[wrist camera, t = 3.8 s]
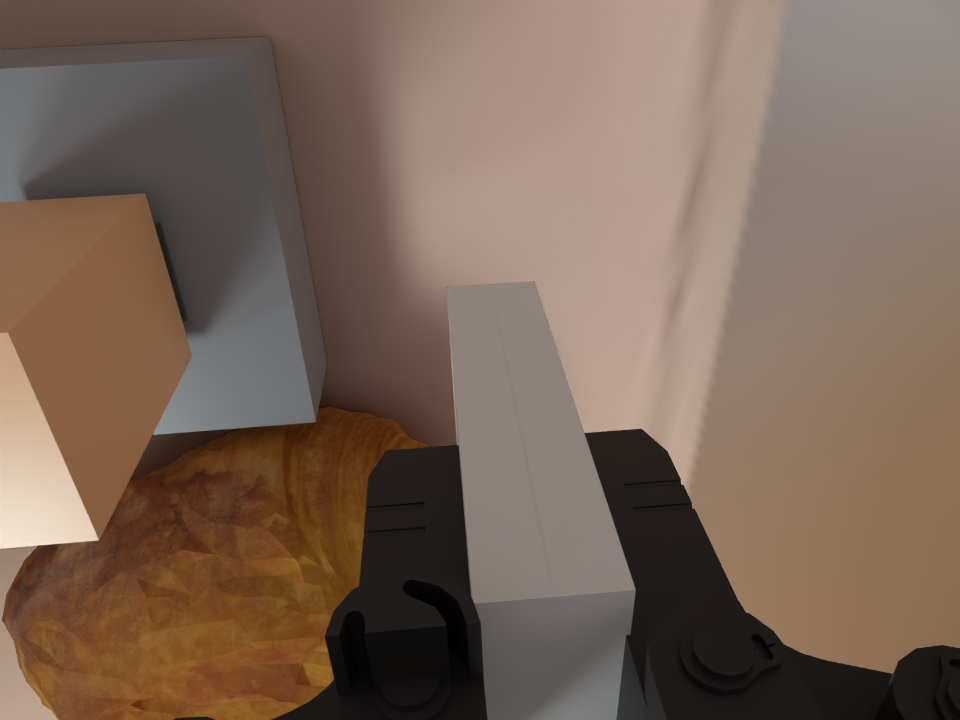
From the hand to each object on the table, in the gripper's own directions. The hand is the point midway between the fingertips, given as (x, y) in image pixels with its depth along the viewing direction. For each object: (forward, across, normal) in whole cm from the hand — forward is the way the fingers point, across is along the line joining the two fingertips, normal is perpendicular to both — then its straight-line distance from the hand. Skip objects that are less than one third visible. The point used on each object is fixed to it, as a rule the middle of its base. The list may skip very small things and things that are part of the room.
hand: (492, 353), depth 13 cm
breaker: (+4, +8, 0) cm, 9 cm away
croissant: (+8, +7, +13) cm, 17 cm away
